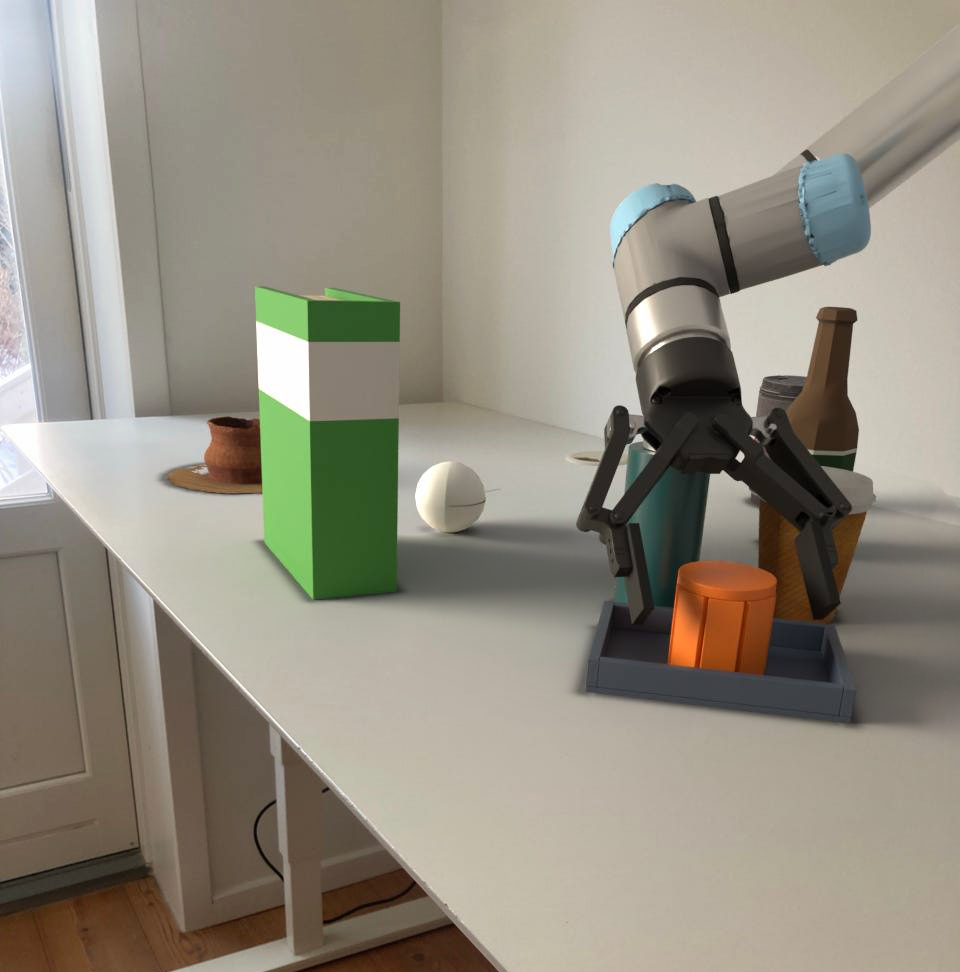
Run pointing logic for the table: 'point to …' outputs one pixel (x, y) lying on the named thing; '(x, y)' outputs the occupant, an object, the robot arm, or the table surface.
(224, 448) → the ceramic pot
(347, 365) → the hardback book
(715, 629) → the cap
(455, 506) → the white ball
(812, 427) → the beer bottle
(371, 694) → the table surface
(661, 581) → the water bottle
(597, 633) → the tray
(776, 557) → the disposable coffee cup
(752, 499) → the travel mug
